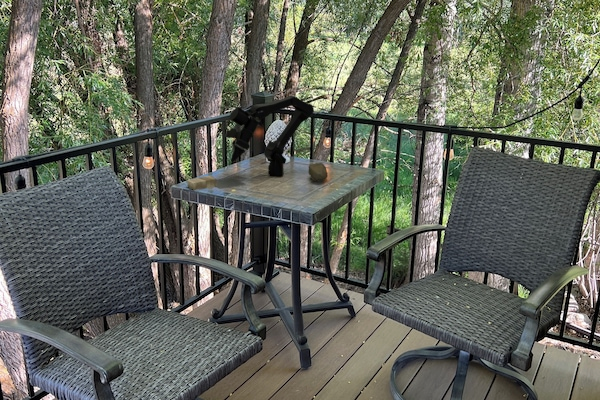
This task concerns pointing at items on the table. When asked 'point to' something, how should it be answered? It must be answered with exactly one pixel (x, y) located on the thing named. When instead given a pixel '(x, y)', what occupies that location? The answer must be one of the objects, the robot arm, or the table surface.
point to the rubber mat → (228, 183)
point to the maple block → (202, 183)
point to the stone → (318, 171)
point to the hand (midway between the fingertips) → (231, 161)
